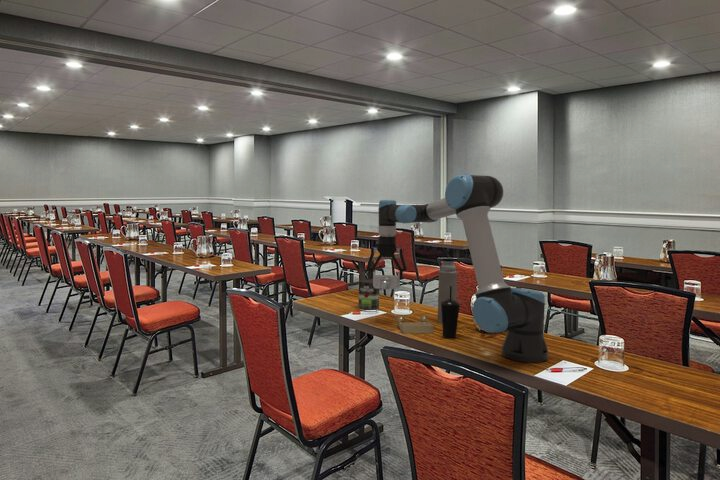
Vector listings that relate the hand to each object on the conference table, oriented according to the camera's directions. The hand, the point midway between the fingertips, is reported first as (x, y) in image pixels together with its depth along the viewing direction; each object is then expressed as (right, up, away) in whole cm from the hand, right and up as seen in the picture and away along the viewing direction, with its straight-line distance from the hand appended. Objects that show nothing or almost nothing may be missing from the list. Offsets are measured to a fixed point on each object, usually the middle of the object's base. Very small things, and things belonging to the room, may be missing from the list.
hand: (386, 286), depth 214 cm
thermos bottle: (+27, -16, +2) cm, 31 cm away
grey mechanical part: (0, -1, -3) cm, 3 cm away
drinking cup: (+23, -18, -22) cm, 37 cm away
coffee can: (-7, -14, +26) cm, 30 cm away
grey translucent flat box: (+11, -16, -11) cm, 23 cm away
